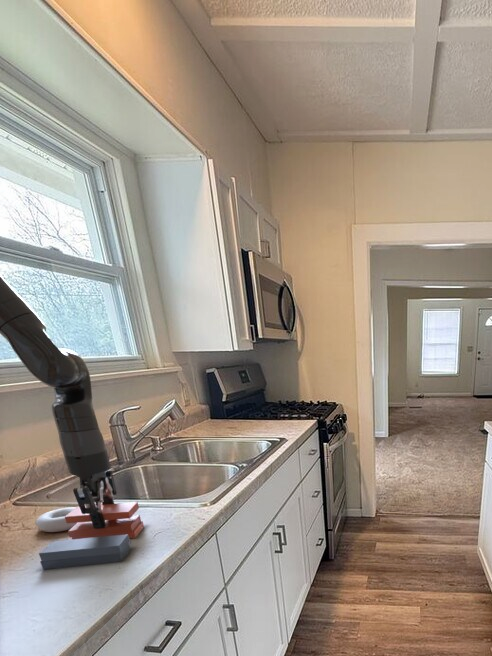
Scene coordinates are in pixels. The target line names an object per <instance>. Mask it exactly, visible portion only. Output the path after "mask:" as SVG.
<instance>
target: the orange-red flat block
mask: <svg viewBox="0 0 492 656" xmlns="http://www.w3.org/2000/svg"><path fill="white" fill-rule="evenodd" d="M105 524H106V526H105V527H104V528H101V529H95V528H94V527H93V524H92V521H91V522H78V523H77V524H75V525H74V526H73V527H72V528H71V529H69V530H67V533H68V535H69V538H71V540H72V539H82V538H93V537H104V536H115V535H126V534H128V535H129V539H136V538H137V537H138V536H139V534H140V533H141V532H142V530H143V529H144V528H145V525H144V522H143V520H142V519H141V516H140V514H136V515H135V514H133V516H132V517H131V518H127V519H115V520H105Z"/></svg>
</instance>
